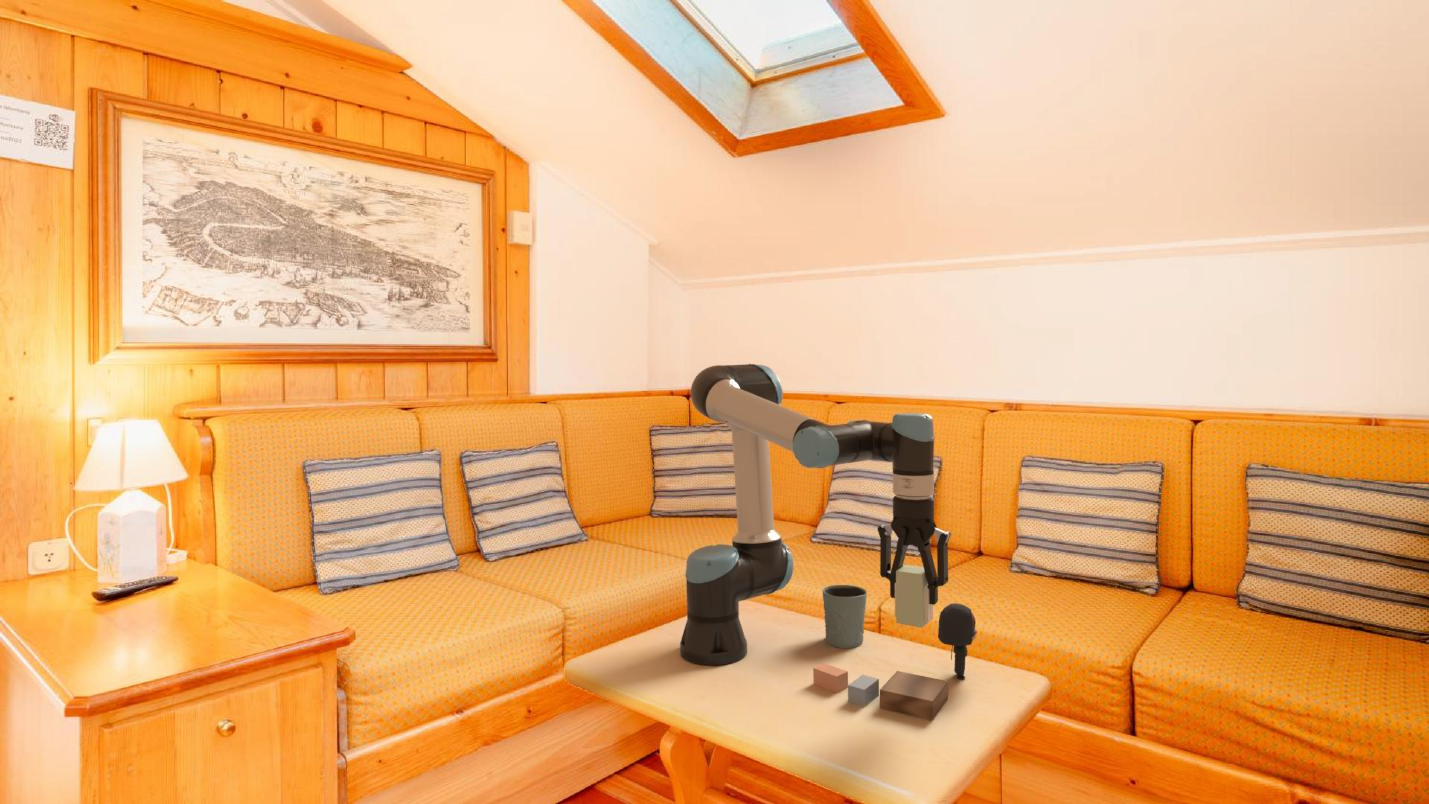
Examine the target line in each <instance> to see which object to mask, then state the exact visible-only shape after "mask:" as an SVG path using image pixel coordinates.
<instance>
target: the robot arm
mask: <svg viewBox="0 0 1429 804" xmlns="http://www.w3.org/2000/svg"><path fill="white" fill-rule="evenodd" d="M690 398H691V403H692V405H693V406H694V408H695V409H696V410H697V412H699V414H701V415H702V416H704V417H706V418H708V419H709V420H712V421H714V422H717V423H724V424H725V425H726V426H727V427H728V428H729V429H730V430H731V441H732V454H733V455H732V456H733V467H734V468H733V470H734V472H733V473H734V488H735V489H734V490H735V503H736V506H735V507H736V518H737V519H736V523H737V532H736V533H735V535H734V536H733V537H732V539H731V542H732V543H731V544H732V545H730V544H724V543H723V544H721V543H720V544H716V545H713V544H712V545H706V546H702V547H699V548H697V549H695V550H694V551H692V552H691V553H690V554H689V555H688V557H687V559H686V566H685V567H686V569H685V575H684V576H685V579H686V611H687V612H686V615H687V616H686V618H687V619H686V623H685V625H684V629H683V633H682V636H681V640H680V643H679V646H680V647H679V651H680V652H679V654H681V655H680V656H681V658H683V659H684V660H685V661H687V662H689V661H690V663H693V664H698V665H704V666H706V665H707V666H720V665H727V664H732V663H735V662H738V661H740V660H742V659H743V658H745V657H746V656H747V654H748V640H747V639H746V636H745V633H744V630H743V627H742V624H741V620H740V617H739V616H740V615H739V614H740V613H739V611H740V609H739V607H740V605H739V603H740V602H741V601H746V600H749V599H754V598H756V597H762V596H767V595H770V594H771V595H772V594H774V593H776V592H778V591H780V590H782V589H784V588H785V587H787V585H788V584H789V582H790V581H791V579H792V577H793V573H794V568H795V567H794V566H795V565H794V556H793V553H792V552H791V551H790V548H789V546H788V545H787V544H786V543H785V542H783V541H782V540H783V539H782V535H781V534H780V533H779V532H777V530H776V529H775V520H774V519H775V517H774V504H773V503H774V502H773V500H774V499H773V488H772V486H773V485H772V484H773V483H772V472H771V470H772V469H771V468H772V467H771V455H770V454H771V453H770V443H772V444H774V445H776V446H779V447H782V448H783V449H785V450H787V451H790V452H791V453H793V455H794V458H795V459H796V460H797V461H798V463H799V464H800V465H801V466H802V467H805V468H807V469H809V468H810V469H814V468H815V469H824V468H827V467H831V466H837V465H839V466H840V465H844V464H845V465H846V464H851V463H858V462H866V461H878V462H879V461H881V462H888V463H892V493H893V494H894V496H893V498H892V516H893V517H892V520H891V522H890V523H888V524H886V523H883V524H881V525H879V526H878V527H877V532H878V536H879V539H880V542H879V543H880V547H879V549H880V552H879V555H880V556H879V558H880V560H879V562H880V563H879V565H880V566H879V574H880V575H879V576H881V578H885V579H887V580H888V581H889V595H890V597H891V598H892V599H894V618H896V570H898V569H900V568H901V567H903V566H904V561H905V559H906V556H907V555H906V554H907V550H908V547H909V546H914V547H917V550H918V552H919V554H920V559H921V561H922V567H924V571H925V575H926V579H927V583H928V585H927V586H926V587H925V588H924V622H926V623H927V624H929V623H930V622H931V621H932V620H934V605H936V604H937V603H938V601H939V587H943V586H944V585H946V584H947V583H948V582H949V549H948V548H949V541H950V538H951V534H952V533H951V532H950V531H949V530H945V531H944V530H942V529H940V528H937V525H936V522H935V499H934V497H933V495H934V494H935V473H934V472H935V471H934V458H935V457H934V455H935V453H934V452H935V450H934V449H935V439H936V438H935V437H936V436H935V434H934V433H935V432H934V430H935V429H934V419H933V417H932V416H931V415H930V414H928V413H923V412H922V413H921V412H901V413H895V414H894V415H893V416H892V421H891V422H883V421H882V422H881V421H869V420H867V419H862V420H851V421H848V422H847V423H842V424H840V423H839V424H832V425H831V424H827V423H825V422H822V421H819V420H817V419H814V418H813V417H809V416H807V415H805V414H804V413H803V414H802V413H800V412H798V411H795V410H793V409H791V408H788V407H786V406H783V405H781V404H782V401H783V398H784V392H783V385H782V382H781V380H780V377H779V376H778V374H777V373H776V372H775V371H774V370H773V368H770V367H769V366H767V365H764V364H755V363H748V364H729V365H727V364H725V365H722V364H721V365H720V364H719V365H718V364H717V365H711V366H709V367H705V368H704V369H703V370H701V371H700V372H699V373H698V374H697V375H696V376H695V377H694V380H693V381H692V383H691V387H690ZM893 532H894V534H895V536H896V537H897V543H896V547H895V548H896V550H895V552H894V558H893V562H892V533H893ZM933 536H935V540H936V542H937V545H936V554H937V555H936V561H937V563H936V564H937V566H935V562H934V559H933V558H934V557H933V555H932V550H931V547H932V546H931V542H930V540H931V539H932V537H933ZM936 568H937V569H936Z"/></svg>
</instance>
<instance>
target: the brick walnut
mask: <svg viewBox="0 0 1429 804" xmlns="http://www.w3.org/2000/svg"><path fill="white" fill-rule="evenodd" d="M948 693H949V682H948V680H943V679H939V678H935V677H930V676H924V675H919V674H914V673H909V672H905V671H904V672H903V671H899V670H896V671H895V673H894V674H892V676H891V677H890V678H889V679H888V680H887V681H886V682H885V683H884V684H883V686H882V687H881V688H879V709H880V710H885V711H888V712H893V713H897V714H902V715H905V716H911V717H914V718H919V719H924V720H927V721H928V720H929V721H932V722H933V721H934V720H935V719H936V717H937V715H939V713H940V712H941V710H942V708H943V707H944V706H945V704H946V703H947V701H948V700H949V699H948V698H949V697H948V696H949V695H948Z"/></svg>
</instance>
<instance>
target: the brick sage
mask: <svg viewBox="0 0 1429 804" xmlns="http://www.w3.org/2000/svg"><path fill="white" fill-rule="evenodd" d="M927 585H928V583H927V579H926V575H925V571H924V567H923V566H918V565H911V564H903V567H901V568H900V569H898V570H896V617H895V618H896V619H895V622H896V624H899V625H905V626H909V627H914V628H919V629H920V628H921V629H923V628H924V627H925V626H926V625H928V623H926V622H924V588H925V587H926V586H927Z"/></svg>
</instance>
